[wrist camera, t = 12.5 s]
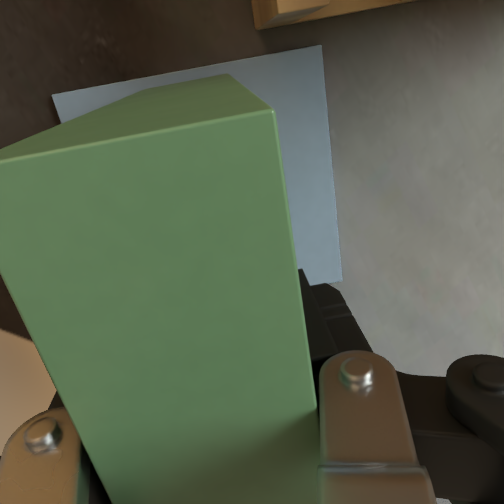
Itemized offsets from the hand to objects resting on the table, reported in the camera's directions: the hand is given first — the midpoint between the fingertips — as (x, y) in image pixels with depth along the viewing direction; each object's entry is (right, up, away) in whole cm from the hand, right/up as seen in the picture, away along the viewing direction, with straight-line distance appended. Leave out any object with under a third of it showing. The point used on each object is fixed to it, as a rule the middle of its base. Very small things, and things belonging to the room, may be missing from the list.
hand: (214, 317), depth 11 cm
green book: (-1, +4, +8) cm, 9 cm away
